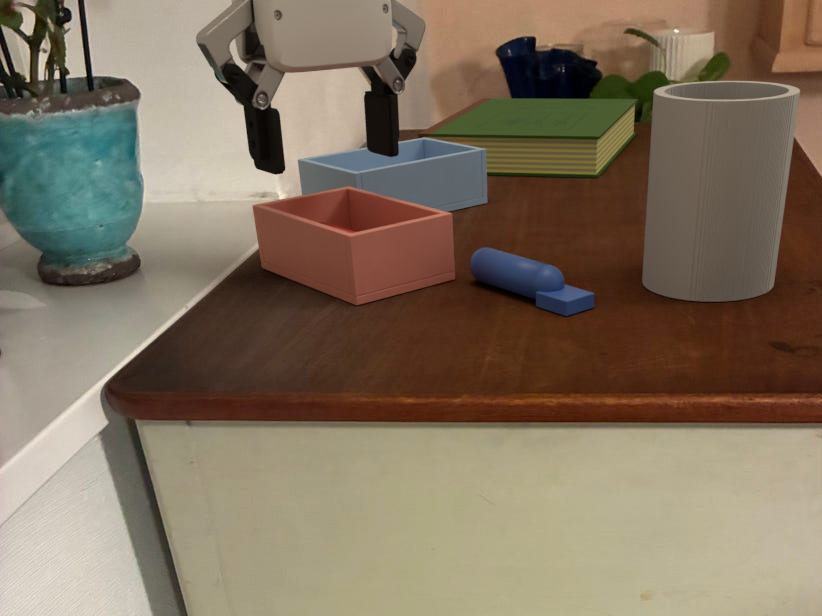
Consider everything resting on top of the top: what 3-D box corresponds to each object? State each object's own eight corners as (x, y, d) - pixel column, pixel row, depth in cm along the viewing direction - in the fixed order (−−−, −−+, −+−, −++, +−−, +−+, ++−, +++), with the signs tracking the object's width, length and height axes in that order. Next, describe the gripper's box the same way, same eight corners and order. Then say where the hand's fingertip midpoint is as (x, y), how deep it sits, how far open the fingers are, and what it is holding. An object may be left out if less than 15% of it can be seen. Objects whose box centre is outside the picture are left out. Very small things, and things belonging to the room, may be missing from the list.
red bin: (261, 268, 78) (251, 205, 75) (355, 246, 82) (349, 185, 80) (356, 305, 70) (349, 236, 67) (455, 279, 74) (452, 213, 71)
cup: (621, 291, 70) (631, 97, 63) (671, 258, 77) (685, 78, 70) (748, 308, 66) (773, 104, 60) (790, 272, 73) (817, 83, 66)
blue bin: (360, 231, 86) (354, 173, 84) (304, 214, 92) (297, 159, 90) (487, 203, 94) (486, 148, 91) (428, 188, 100) (425, 137, 97)
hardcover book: (483, 132, 124) (482, 98, 122) (635, 134, 120) (637, 99, 118) (418, 174, 105) (415, 135, 103) (596, 179, 100) (597, 137, 98)
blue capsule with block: (462, 282, 73) (461, 248, 72) (490, 275, 75) (489, 241, 73) (566, 316, 66) (566, 279, 65) (594, 307, 68) (595, 271, 66)
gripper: (383, -135, 69) (396, 141, 79) (145, -142, 60) (193, 170, 70) (451, -139, 65) (455, 155, 75) (203, -148, 56) (246, 188, 66)
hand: (328, 162), depth 72 cm, fingers open, 9 cm apart
